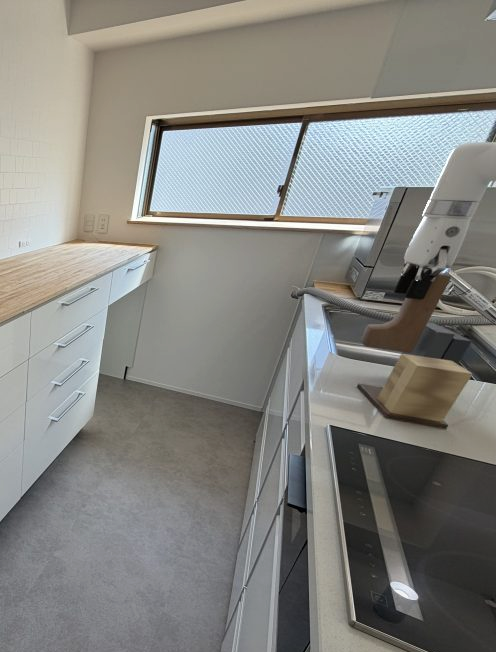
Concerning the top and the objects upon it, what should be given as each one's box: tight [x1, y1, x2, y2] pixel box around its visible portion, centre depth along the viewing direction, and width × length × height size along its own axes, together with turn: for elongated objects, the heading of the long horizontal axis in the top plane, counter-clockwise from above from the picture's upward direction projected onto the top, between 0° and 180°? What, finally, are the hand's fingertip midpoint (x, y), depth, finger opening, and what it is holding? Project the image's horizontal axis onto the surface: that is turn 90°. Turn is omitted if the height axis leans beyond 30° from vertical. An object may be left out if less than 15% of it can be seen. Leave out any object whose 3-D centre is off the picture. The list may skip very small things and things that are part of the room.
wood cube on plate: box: [356, 353, 473, 430], centre depth 89 cm, size 10×16×12 cm, turn 158°
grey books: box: [401, 322, 473, 365], centre depth 98 cm, size 6×9×15 cm
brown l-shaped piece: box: [360, 270, 452, 353], centre depth 96 cm, size 9×4×18 cm, turn 61°
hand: (408, 295), depth 95 cm, fingers closed on brown l-shaped piece, 4 cm apart
